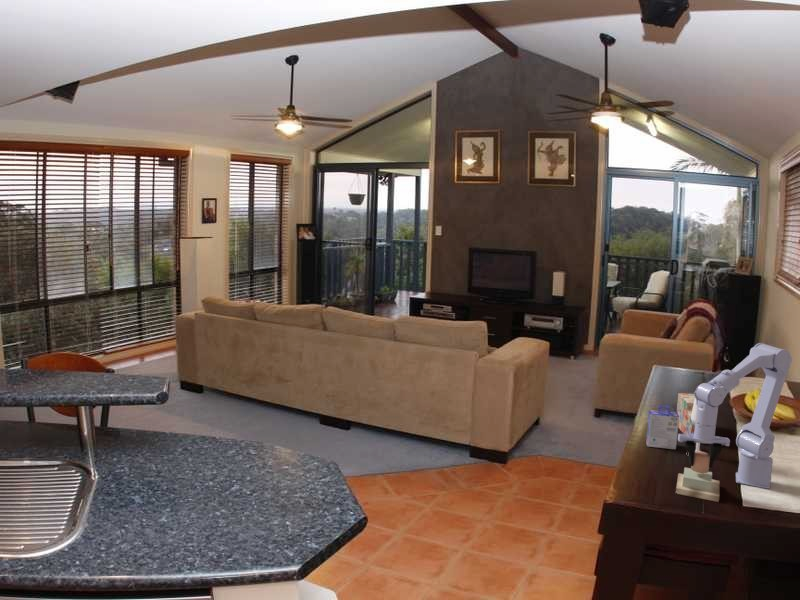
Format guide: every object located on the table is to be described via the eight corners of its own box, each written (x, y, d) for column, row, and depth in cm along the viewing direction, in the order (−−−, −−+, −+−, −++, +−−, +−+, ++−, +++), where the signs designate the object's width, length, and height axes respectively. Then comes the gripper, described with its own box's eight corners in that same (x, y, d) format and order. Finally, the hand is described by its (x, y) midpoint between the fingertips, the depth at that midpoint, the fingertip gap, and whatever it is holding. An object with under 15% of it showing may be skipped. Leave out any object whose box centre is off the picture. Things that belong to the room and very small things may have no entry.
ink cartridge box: (674, 444, 260) (678, 405, 257) (676, 450, 254) (681, 410, 252) (645, 441, 262) (649, 402, 259) (647, 447, 256) (651, 407, 254)
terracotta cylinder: (705, 467, 224) (707, 451, 224) (710, 473, 220) (712, 458, 219) (688, 465, 225) (690, 450, 224) (693, 472, 220) (695, 457, 219)
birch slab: (718, 488, 226) (719, 480, 226) (718, 504, 216) (719, 496, 215) (677, 480, 231) (678, 473, 231) (675, 495, 220) (676, 488, 220)
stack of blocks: (707, 444, 261) (711, 411, 259) (689, 443, 262) (693, 410, 260) (691, 423, 282) (695, 393, 280) (674, 422, 283) (678, 392, 281)
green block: (711, 481, 225) (712, 472, 225) (710, 491, 218) (711, 482, 218) (683, 476, 228) (684, 467, 228) (682, 486, 221) (683, 477, 221)
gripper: (727, 420, 222) (721, 462, 225) (677, 416, 224) (672, 458, 227) (734, 428, 215) (728, 471, 218) (682, 424, 217) (677, 467, 220)
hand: (700, 465), depth 222 cm, fingers closed on terracotta cylinder, 5 cm apart
